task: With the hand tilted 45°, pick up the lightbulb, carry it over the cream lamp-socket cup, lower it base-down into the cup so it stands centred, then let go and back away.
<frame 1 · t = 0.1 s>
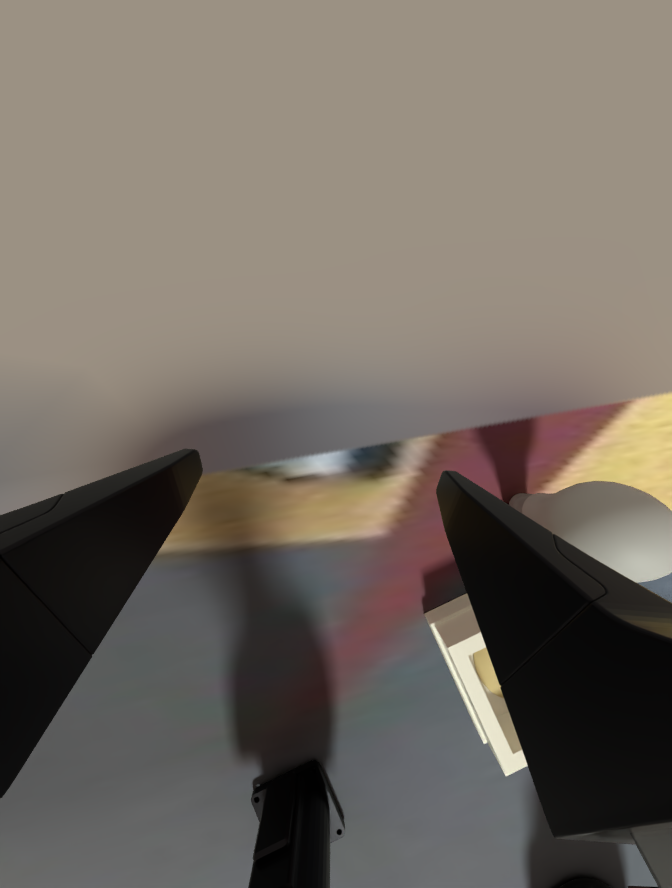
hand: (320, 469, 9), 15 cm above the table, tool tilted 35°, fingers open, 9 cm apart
lightbulb: (514, 504, 24), on the table
socket: (501, 643, 23), on the table
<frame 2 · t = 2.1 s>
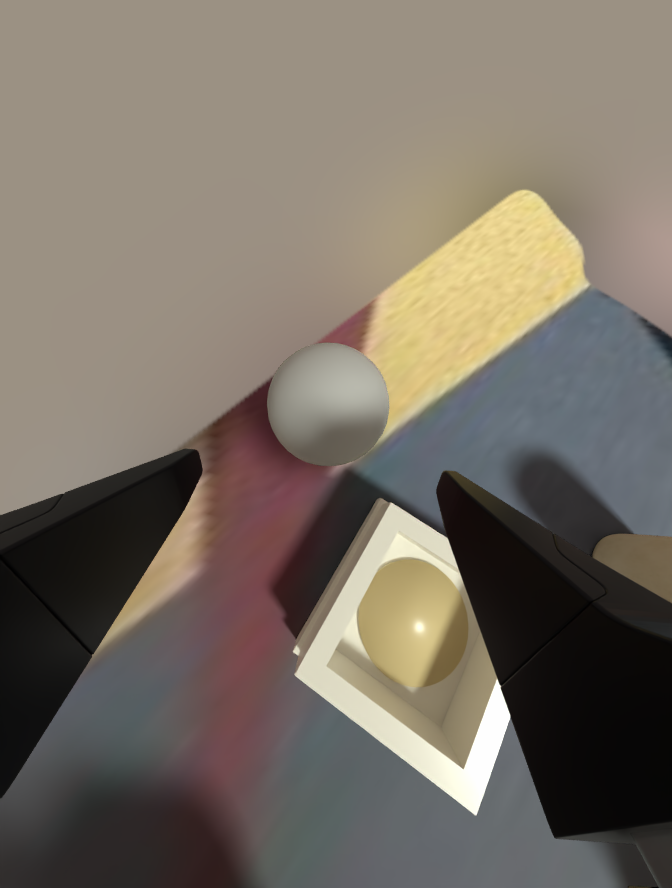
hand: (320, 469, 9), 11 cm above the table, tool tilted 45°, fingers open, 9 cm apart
lightbulb: (328, 447, 21), on the table
socket: (405, 609, 17), on the table
candle: (623, 571, 19), on the table
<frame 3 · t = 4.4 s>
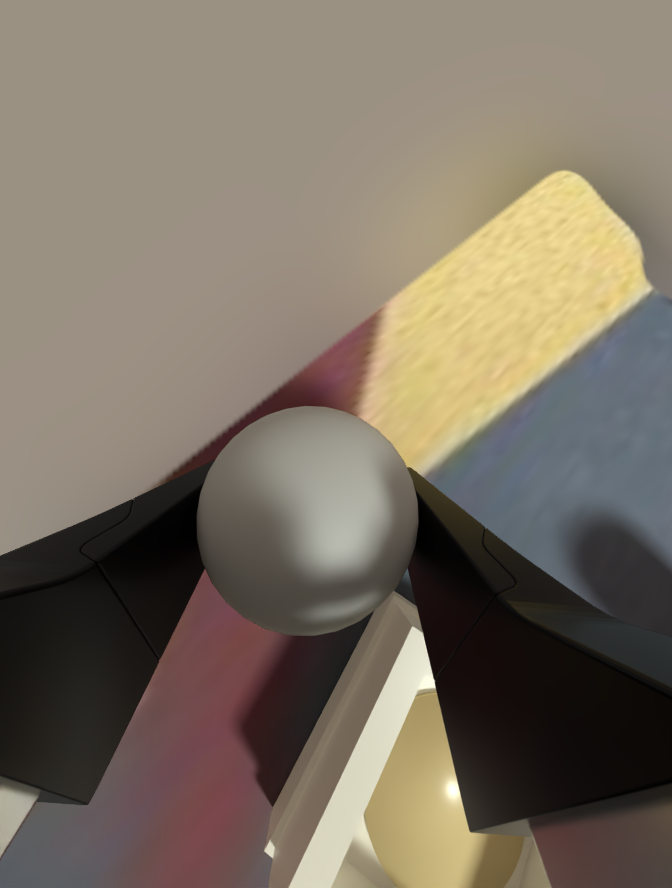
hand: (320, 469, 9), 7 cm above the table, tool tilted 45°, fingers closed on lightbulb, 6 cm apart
lightbulb: (321, 509, 15), on the table, touching gripper
socket: (429, 757, 12), on the table
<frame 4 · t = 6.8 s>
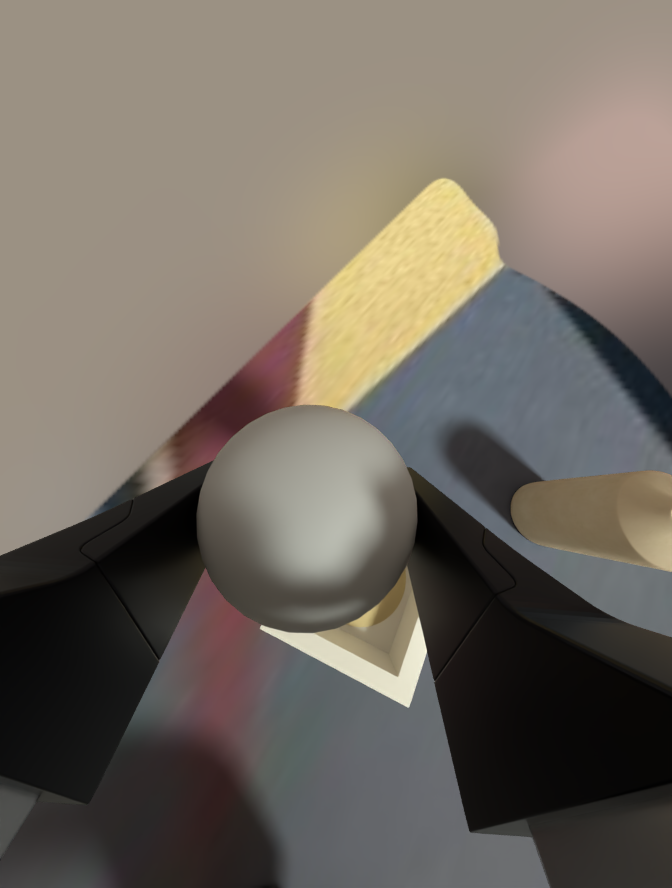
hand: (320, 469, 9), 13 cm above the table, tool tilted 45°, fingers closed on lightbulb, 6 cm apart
lightbulb: (321, 507, 15), point 7 cm above the table, touching gripper
socket: (358, 569, 21), on the table
candle: (537, 513, 22), on the table
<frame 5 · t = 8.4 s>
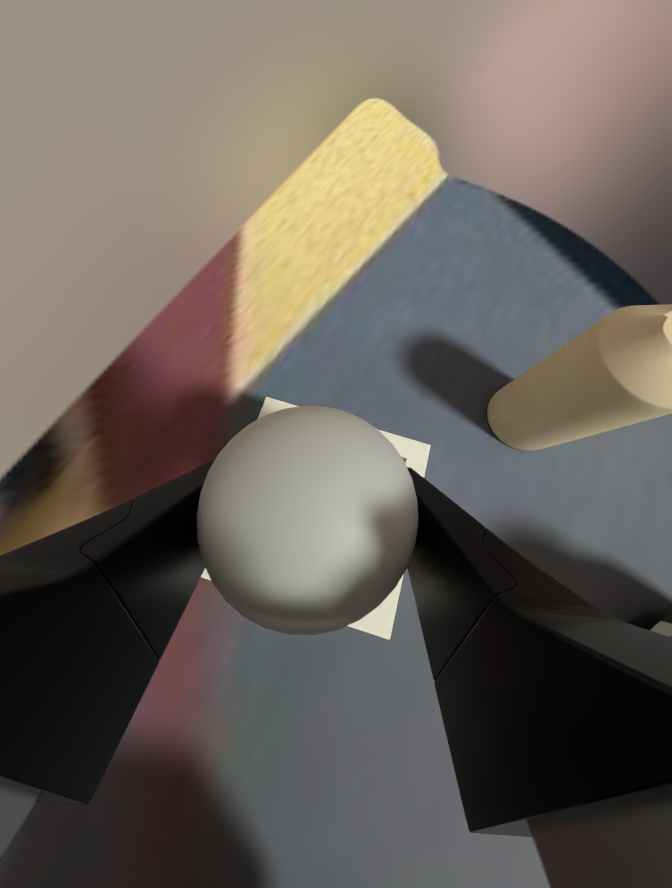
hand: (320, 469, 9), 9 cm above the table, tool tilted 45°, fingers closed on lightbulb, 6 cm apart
lightbulb: (321, 507, 15), point 2 cm above the table, touching gripper
socket: (322, 505, 18), on the table
candle: (518, 419, 20), on the table
when the fingers open (9 cm above the table, at t = 9.4 s): lightbulb stays where it is, resting on socket.
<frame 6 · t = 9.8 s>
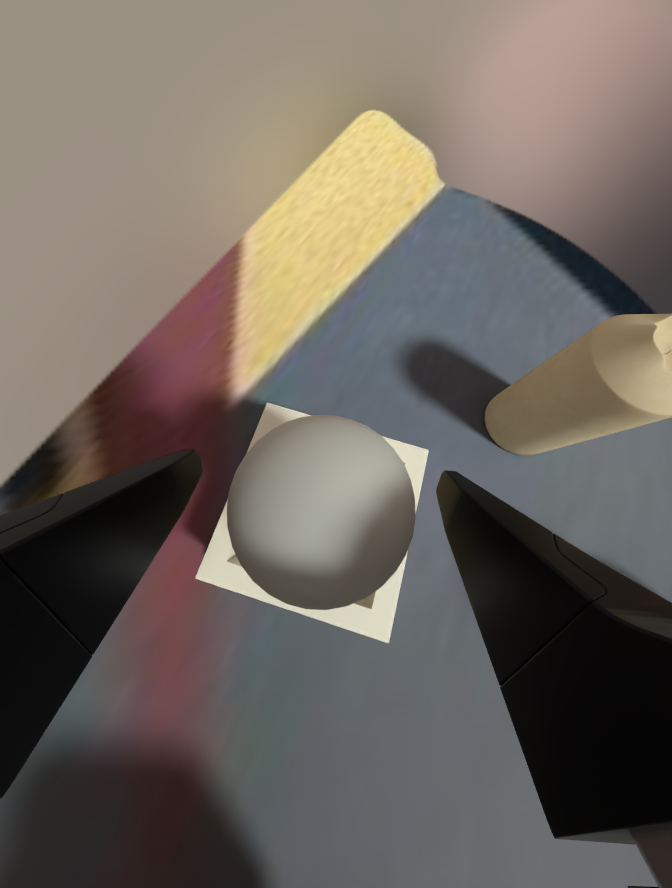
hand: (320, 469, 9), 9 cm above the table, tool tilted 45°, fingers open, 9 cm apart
lightbulb: (323, 508, 16), point 2 cm above the table, touching socket
socket: (322, 509, 18), on the table
candle: (515, 423, 20), on the table
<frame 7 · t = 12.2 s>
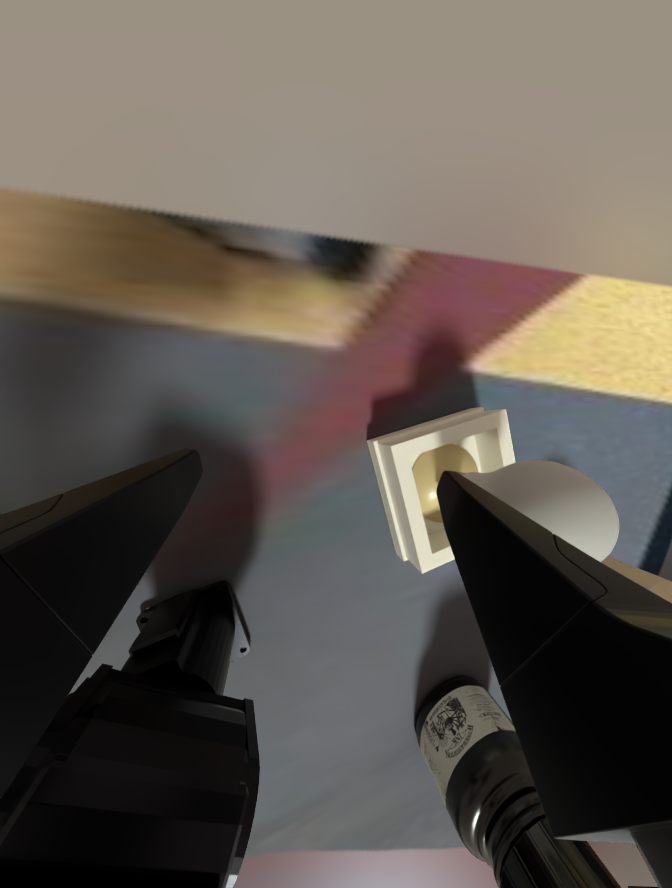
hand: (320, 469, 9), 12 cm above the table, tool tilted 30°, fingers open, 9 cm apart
lightbulb: (445, 483, 22), point 2 cm above the table, touching socket
ink bottle: (450, 711, 26), on the table
socket: (434, 479, 24), on the table
candle: (542, 557, 28), on the table
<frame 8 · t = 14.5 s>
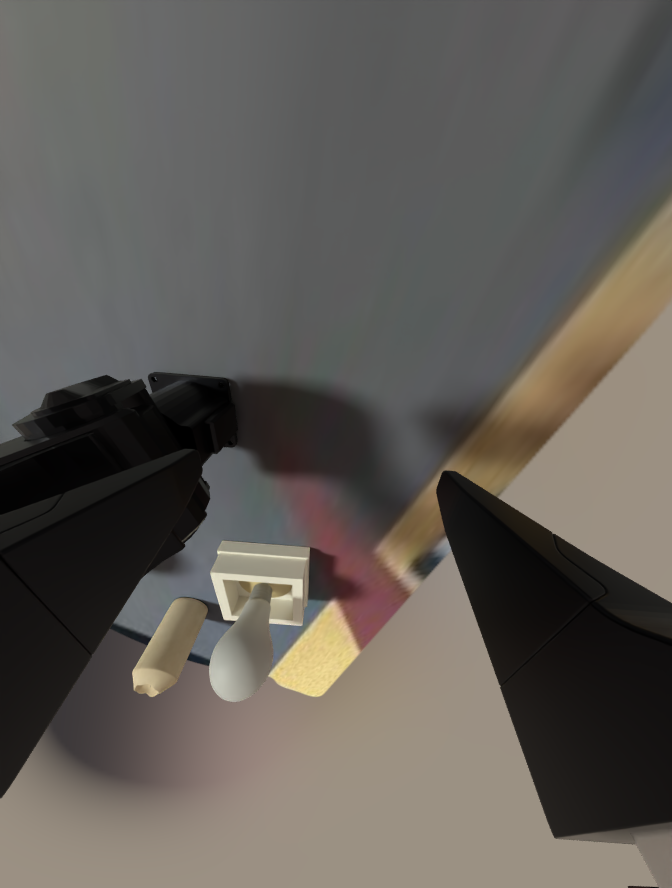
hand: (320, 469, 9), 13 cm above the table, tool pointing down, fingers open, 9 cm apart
lightbulb: (265, 582, 33), point 2 cm above the table, touching socket
socket: (268, 570, 34), on the table
candle: (191, 605, 39), on the table
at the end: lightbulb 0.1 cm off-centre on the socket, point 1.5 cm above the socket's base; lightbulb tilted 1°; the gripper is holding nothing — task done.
